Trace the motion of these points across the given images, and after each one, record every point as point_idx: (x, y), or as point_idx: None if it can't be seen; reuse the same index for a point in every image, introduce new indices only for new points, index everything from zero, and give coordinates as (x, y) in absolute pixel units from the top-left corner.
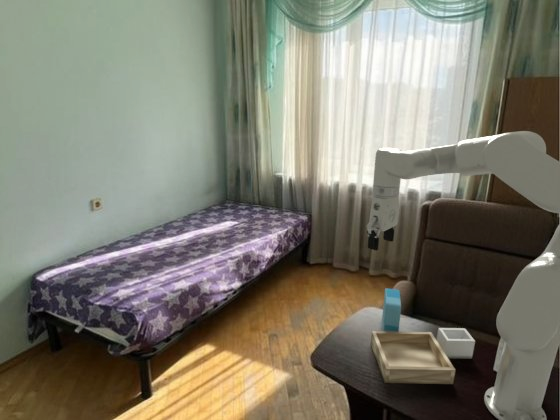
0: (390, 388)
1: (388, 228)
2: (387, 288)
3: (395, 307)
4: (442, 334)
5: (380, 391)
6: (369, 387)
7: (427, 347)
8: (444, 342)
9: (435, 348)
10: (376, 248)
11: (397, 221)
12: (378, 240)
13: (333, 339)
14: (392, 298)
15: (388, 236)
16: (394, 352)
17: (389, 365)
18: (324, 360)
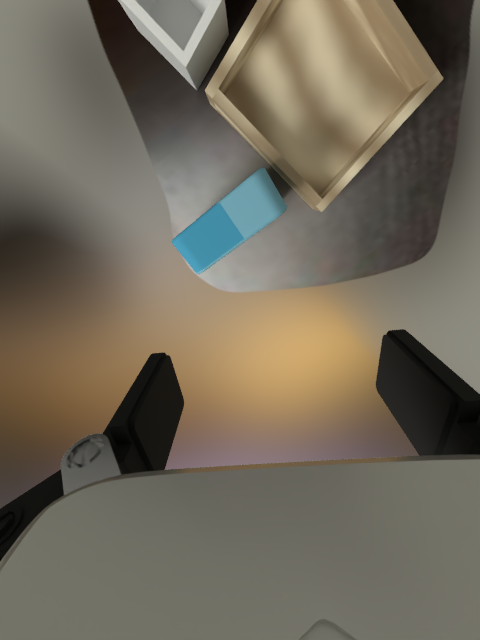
0: None
1: (411, 474)
2: (199, 267)
3: (270, 184)
4: (204, 35)
5: (448, 83)
6: (449, 112)
7: (235, 90)
8: (217, 23)
9: (250, 42)
10: (408, 341)
11: (34, 545)
12: (454, 380)
13: (354, 270)
14: (239, 219)
15: (166, 399)
16: (315, 142)
17: (366, 119)
18: (424, 238)
